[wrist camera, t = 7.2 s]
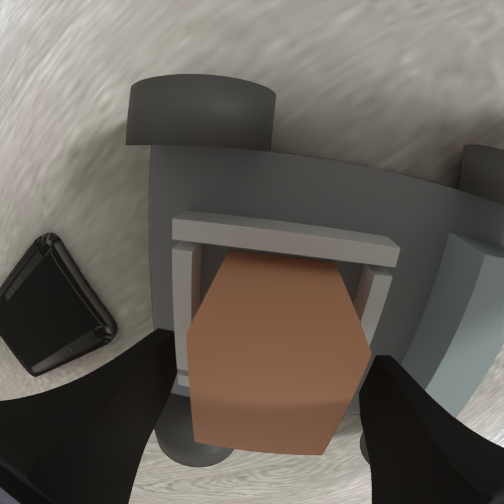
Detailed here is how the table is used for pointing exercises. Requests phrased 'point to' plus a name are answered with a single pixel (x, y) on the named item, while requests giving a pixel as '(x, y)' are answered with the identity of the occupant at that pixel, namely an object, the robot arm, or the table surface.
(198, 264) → the chassis
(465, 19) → the table surface
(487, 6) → the table surface
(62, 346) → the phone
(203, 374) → the block
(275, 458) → the table surface
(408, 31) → the table surface
